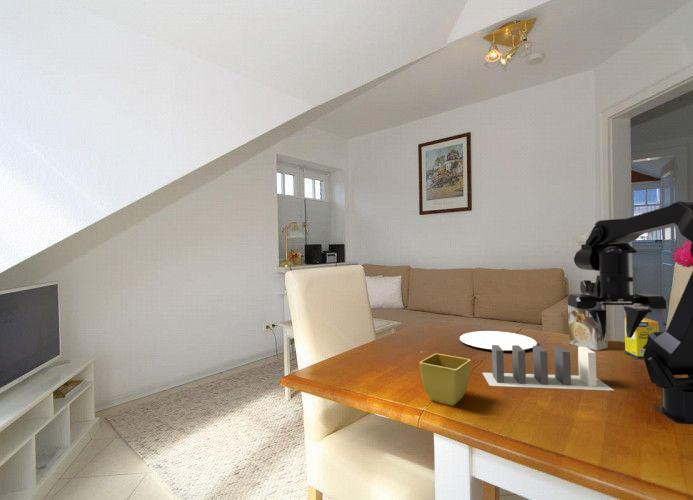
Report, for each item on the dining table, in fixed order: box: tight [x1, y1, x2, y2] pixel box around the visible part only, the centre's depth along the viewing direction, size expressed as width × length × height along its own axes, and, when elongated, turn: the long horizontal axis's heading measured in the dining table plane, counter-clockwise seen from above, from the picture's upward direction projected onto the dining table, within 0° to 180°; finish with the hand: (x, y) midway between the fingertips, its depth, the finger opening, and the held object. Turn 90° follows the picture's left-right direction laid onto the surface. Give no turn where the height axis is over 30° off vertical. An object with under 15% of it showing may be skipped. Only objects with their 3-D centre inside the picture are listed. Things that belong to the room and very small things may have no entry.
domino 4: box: [553, 345, 572, 386], centre depth 86 cm, size 5×2×8 cm, turn 170°
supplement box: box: [623, 317, 660, 360], centre depth 104 cm, size 6×6×11 cm
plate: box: [459, 330, 538, 352], centre depth 123 cm, size 25×25×2 cm
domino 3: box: [532, 345, 549, 385], centre depth 87 cm, size 5×2×8 cm, turn 170°
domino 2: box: [511, 345, 527, 384], centre depth 88 cm, size 5×2×8 cm, turn 170°
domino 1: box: [491, 345, 505, 383], centre depth 89 cm, size 5×2×8 cm, turn 170°
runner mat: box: [482, 372, 615, 391], centre depth 87 cm, size 9×27×1 cm, turn 80°
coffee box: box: [567, 304, 609, 351], centre depth 116 cm, size 9×6×16 cm
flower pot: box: [418, 352, 472, 407], centre depth 78 cm, size 9×9×9 cm
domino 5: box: [577, 346, 597, 386], centre depth 85 cm, size 5×2×8 cm, turn 170°
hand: (615, 337), depth 84 cm, fingers open, 5 cm apart
